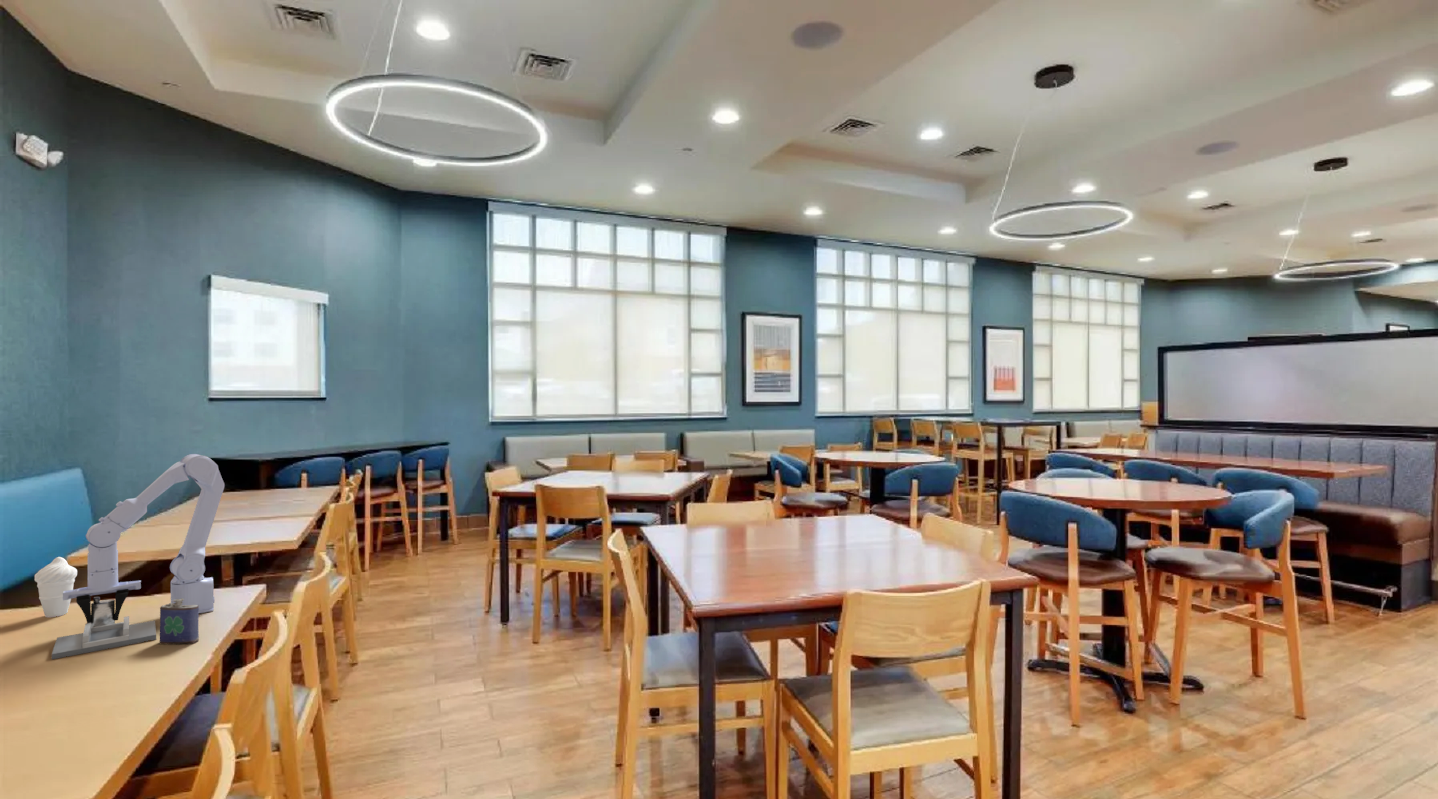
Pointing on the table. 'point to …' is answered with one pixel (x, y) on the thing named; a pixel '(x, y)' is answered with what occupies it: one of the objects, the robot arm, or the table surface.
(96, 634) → the grey framed base plate
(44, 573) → the soft serve ice cream cone
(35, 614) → the table surface
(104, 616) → the spout can
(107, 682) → the table surface
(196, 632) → the flask
